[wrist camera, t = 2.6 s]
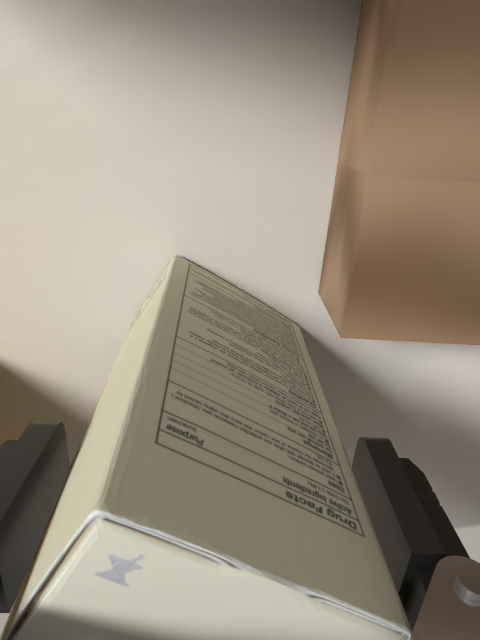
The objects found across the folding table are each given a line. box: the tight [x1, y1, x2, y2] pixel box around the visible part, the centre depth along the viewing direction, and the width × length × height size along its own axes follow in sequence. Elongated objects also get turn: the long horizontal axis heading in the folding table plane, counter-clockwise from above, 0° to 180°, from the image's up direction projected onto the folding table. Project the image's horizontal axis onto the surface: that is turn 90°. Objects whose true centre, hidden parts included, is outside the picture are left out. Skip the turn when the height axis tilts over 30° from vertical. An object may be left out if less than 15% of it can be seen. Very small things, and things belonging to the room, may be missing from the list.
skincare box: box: [0, 256, 412, 640], centre depth 13 cm, size 6×4×12 cm
